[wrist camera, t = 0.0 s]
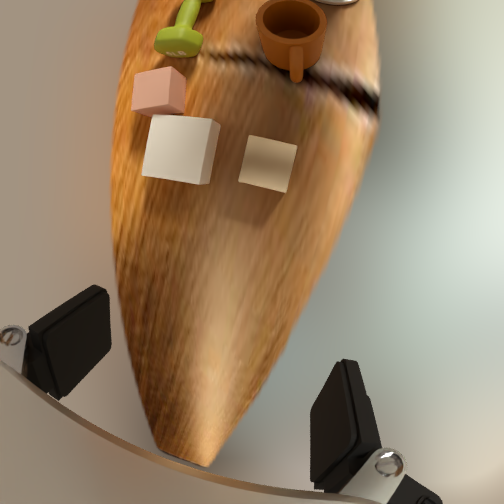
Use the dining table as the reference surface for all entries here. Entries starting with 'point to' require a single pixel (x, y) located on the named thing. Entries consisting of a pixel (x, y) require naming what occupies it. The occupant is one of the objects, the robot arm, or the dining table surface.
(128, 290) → the dining table surface
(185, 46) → the dumbbell
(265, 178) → the maple cube
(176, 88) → the pink cube
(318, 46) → the mug
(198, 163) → the base block
